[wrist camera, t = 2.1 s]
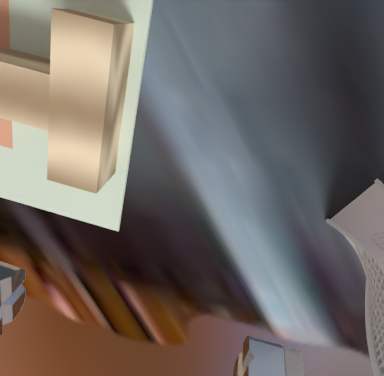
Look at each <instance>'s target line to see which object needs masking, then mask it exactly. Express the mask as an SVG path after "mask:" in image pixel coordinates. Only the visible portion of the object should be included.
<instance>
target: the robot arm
mask: <svg viewBox="0 0 384 376" xmlns="http://www.w3.org/2000/svg"><path fill="white" fill-rule="evenodd" d="M24 280H25V270H24V269H22V268H19V267H16V266H13V265H10V264H7V263H4V262H1V261H0V336H1V335H2V334H3V325H5V324H7V323H9V322H11V321H13V320H14V319H15V317H16V316H17V315H18V313H19V312H20V310H21V308H22V306H23V304H24V300H25V296H26V289H25V288H24V286H23V285H22V284H21V283H22V282H23V281H24ZM233 376H305V375H304V367H303V359H302V354H301V352H300V351H298V350H295V349H291V348H288V347H285V346H281V345H279V344H275V343H272V342H268V341H264V340H261V339H258V338H254V337H251V336H247V338H246V339H245V341H244V343H243V352H242V353H240V354H239V355H238V357H237V360H236V363H235V367H234V371H233Z"/></svg>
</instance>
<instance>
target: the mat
mask: <svg viewBox="0 0 384 376" xmlns="http://www.w3.org/2000/svg"><path fill="white" fill-rule="evenodd" d="M152 7H153V0H0V46H2V47H6V48H9V49H13V50H17V51H20V52H24V53H28V54H32V55H35V56H39V57H43V58H47V59H50V47H51V9H52V8H55V9H82V10H86V11H90V12H94V13H97V14H101V15H105V16H109V17H113V18H117V19H121V20H124V21H128V22H132V23H135V26H134V33H133V41H132V49H131V56H130V64H129V72H128V79H127V87H126V95H125V103H124V110H123V118H122V126H121V133H120V141H119V149H118V156H117V164H116V172H115V174H114V175H113V176H112V177H111V178H110V179H109V180H108V182H107V183H106V184H105V185H104V186H103V187H102V188H101V189H100V190H99V191H98V193H97V194H95V193H92V192H88V191H85V190H81V189H78V188H74V187H71V186H67V185H64V184H60V183H57V182H53V181H50V180H47V163H48V131H46V130H42V129H39V128H35V127H32V126H28V125H24V124H21V123H17V122H14V121H10V120H6V119H3V118H0V197H2V198H5V199H9V200H12V201H16V202H19V203H22V204H26V205H29V206H33V207H36V208H40V209H43V210H46V211H50V212H53V213H57V214H60V215H64V216H67V217H70V218H74V219H77V220H81V221H84V222H87V223H91V224H94V225H98V226H101V227H105V228H108V229H111V230H115V231H119V228H120V222H121V215H122V208H123V202H124V195H125V188H126V181H127V175H128V168H129V161H130V155H131V148H132V141H133V134H134V128H135V121H136V114H137V108H138V101H139V94H140V87H141V81H142V74H143V67H144V61H145V54H146V47H147V41H148V34H149V27H150V20H151V14H152Z"/></svg>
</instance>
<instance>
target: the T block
mask: <svg viewBox="0 0 384 376" xmlns="http://www.w3.org/2000/svg"><path fill="white" fill-rule="evenodd" d="M134 26H135V23H132V22H128V21H124V20H121V19H117V18H113V17H109V16H105V15H101V14H97V13H94V12H90V11H86V10H82V9H55V8H52V9H51V47H50V59H47V58H43V57H39V56H35V55H32V54H28V53H24V52H20V51H17V50H13V49H9V48H6V47H2V46H0V118H3V119H6V120H10V121H14V122H17V123H21V124H24V125H28V126H32V127H35V128H39V129H42V130H46V131H48V163H47V180H50V181H53V182H57V183H60V184H64V185H67V186H71V187H74V188H78V189H81V190H85V191H88V192H92V193H95V194H97V193H98V191H99V190H100V189H101V188H102V187H103V186H104V185H105V184H106V183H107V182H108V180H109V179H110V178H111V177H112V176H113V175H114V174H115V172H116V164H117V156H118V149H119V141H120V133H121V126H122V118H123V110H124V103H125V95H126V87H127V79H128V72H129V64H130V56H131V49H132V41H133V33H134Z"/></svg>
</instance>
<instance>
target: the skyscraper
mask: <svg viewBox="0 0 384 376" xmlns="http://www.w3.org/2000/svg"><path fill="white" fill-rule="evenodd" d="M374 182H375V183H374V184H373V185H372V186H371V187H369V188H368V189H367V190H366V191H364V192H363V193H362V194H361V195H360V196H358V197H357V198H356V199H355V200H353V201H352V202H351V203H350V204H348V205H347V206H346V207H345V208H343V209H342V210H341V211H340V212H339V213H337V214H336V215H335V216H334V217H332V218H331V219H327V220H326V222H327V223H328V224H330V225H331V226H332V227H334V228H335V229H337V230H338V231H339V232H341V233H342V234H343V235H344V236H345V237H346V238H347V239H348V241H349V242H350V243H351V245H352V246H353V248H354V249H355V251H356V253H357V255H358V256H359V258H360V261H361V263H362V266H363V268H364V271H365V275H366V292H365V322H366V335H367V342H368V349H369V356H370V361H371V366H372V370H373V375H374V376H384V184H383V183H382V182H381V181H380V180H379V179H378V178H377V179H376V180H375V181H374Z"/></svg>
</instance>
